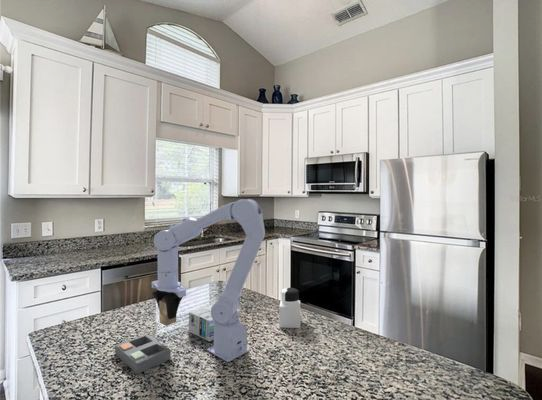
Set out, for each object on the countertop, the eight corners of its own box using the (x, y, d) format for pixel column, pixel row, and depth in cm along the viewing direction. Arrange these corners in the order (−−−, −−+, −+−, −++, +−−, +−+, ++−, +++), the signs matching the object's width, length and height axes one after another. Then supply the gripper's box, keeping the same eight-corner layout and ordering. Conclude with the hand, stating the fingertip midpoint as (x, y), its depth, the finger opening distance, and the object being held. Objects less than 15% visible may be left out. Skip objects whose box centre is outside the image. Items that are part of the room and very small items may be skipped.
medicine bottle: (300, 319, 105) (300, 286, 105) (300, 328, 98) (300, 292, 98) (280, 319, 106) (280, 285, 106) (279, 327, 99) (278, 292, 99)
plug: (176, 321, 87) (176, 297, 87) (166, 325, 84) (166, 300, 84) (169, 318, 89) (169, 295, 89) (159, 322, 86) (159, 298, 86)
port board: (170, 358, 80) (170, 348, 80) (137, 373, 73) (137, 362, 73) (146, 342, 89) (146, 332, 89) (115, 354, 83) (115, 343, 83)
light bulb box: (188, 332, 96) (208, 343, 89) (188, 311, 96) (209, 320, 89) (213, 321, 104) (234, 330, 97) (214, 302, 104) (235, 310, 97)
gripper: (194, 271, 85) (194, 317, 85) (165, 264, 94) (166, 306, 94) (173, 276, 80) (173, 326, 80) (145, 268, 89) (145, 313, 89)
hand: (168, 316), depth 87 cm, fingers closed on plug, 3 cm apart
